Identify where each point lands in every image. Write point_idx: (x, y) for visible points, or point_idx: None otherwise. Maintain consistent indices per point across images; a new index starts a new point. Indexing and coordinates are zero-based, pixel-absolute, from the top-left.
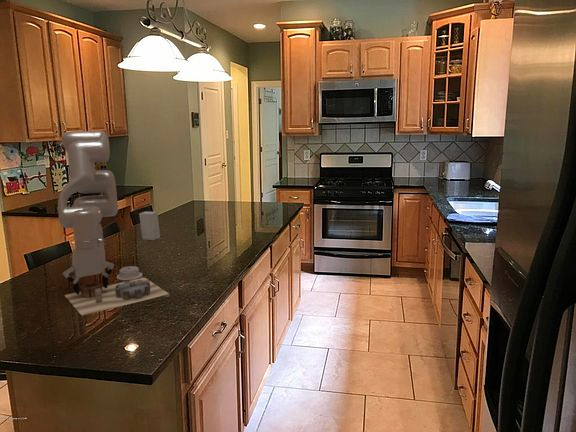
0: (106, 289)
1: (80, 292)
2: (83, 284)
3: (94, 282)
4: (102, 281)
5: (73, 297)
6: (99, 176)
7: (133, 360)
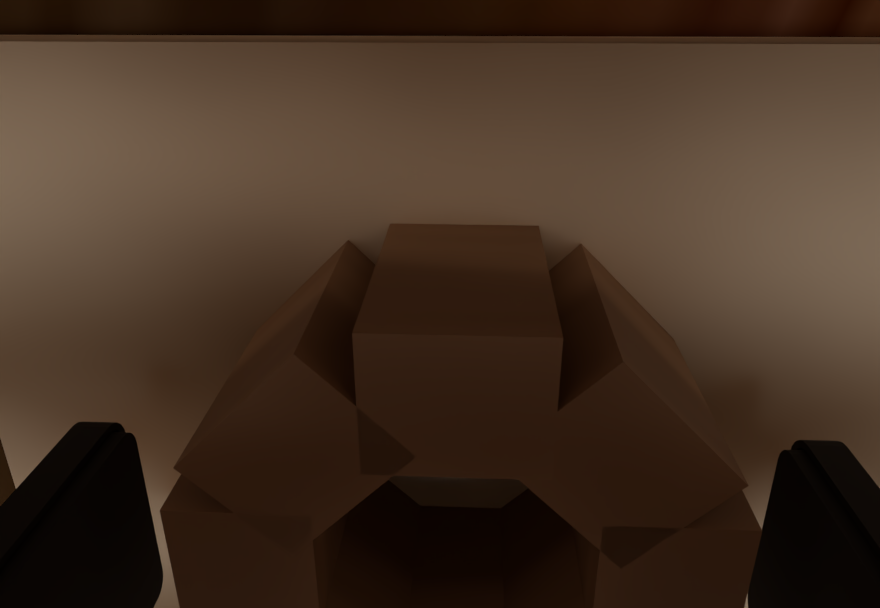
0: (840, 335)
1: (271, 122)
2: (283, 393)
3: (629, 436)
4: (844, 551)
5: (93, 355)
6: None
7: None
